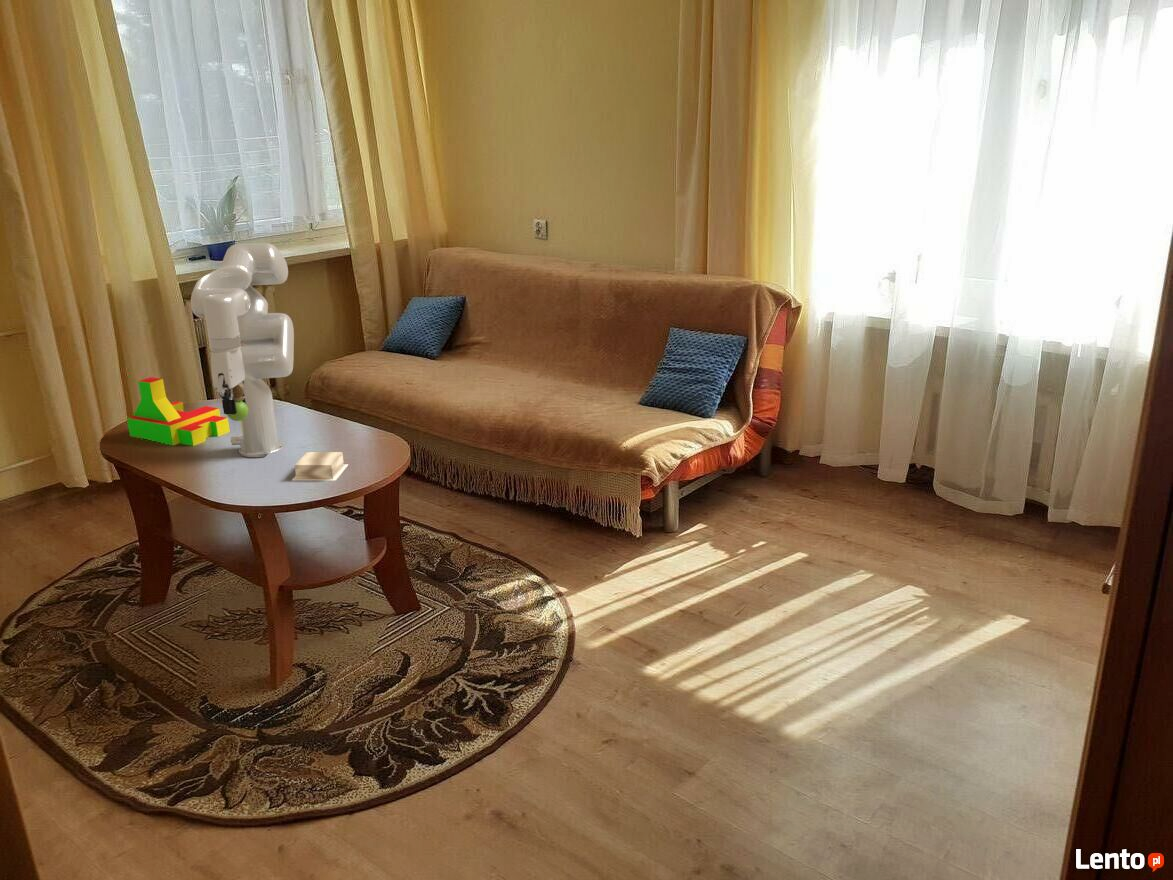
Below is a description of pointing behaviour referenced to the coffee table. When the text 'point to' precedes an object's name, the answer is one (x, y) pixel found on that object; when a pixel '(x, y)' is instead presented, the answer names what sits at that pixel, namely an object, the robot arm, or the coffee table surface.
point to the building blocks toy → (172, 418)
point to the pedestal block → (319, 465)
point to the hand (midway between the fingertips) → (235, 409)
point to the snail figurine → (238, 403)
